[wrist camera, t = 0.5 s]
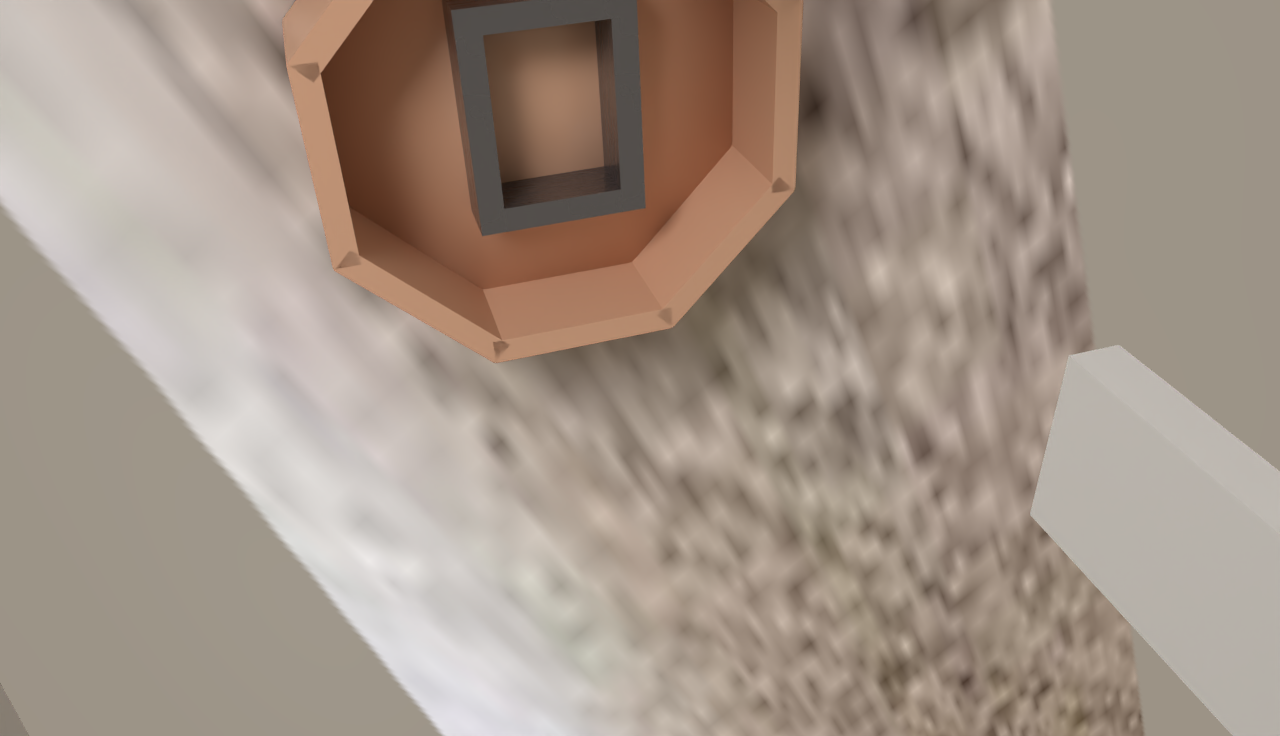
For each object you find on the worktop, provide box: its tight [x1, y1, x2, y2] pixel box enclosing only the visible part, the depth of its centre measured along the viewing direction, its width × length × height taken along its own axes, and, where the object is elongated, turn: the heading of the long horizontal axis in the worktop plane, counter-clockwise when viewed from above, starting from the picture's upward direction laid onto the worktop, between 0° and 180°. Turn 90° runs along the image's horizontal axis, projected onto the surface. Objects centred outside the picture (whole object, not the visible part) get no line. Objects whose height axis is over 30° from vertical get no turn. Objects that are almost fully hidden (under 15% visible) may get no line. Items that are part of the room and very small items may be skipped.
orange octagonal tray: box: [282, 0, 803, 363], centre depth 33 cm, size 15×15×4 cm
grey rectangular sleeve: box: [442, 0, 646, 236], centre depth 33 cm, size 7×5×2 cm
